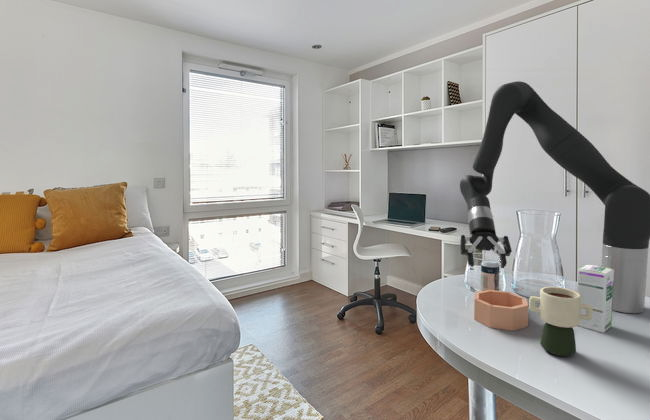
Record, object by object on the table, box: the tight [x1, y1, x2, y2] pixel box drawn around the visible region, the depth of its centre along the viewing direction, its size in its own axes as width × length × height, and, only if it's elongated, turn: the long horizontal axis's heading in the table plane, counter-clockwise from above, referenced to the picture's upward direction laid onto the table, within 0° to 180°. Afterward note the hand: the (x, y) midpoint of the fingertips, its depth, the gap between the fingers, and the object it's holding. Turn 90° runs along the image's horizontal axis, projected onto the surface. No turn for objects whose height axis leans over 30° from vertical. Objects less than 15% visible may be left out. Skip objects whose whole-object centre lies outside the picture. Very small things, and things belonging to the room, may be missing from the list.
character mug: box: [528, 286, 593, 357], centre depth 71 cm, size 11×7×13 cm, turn 57°
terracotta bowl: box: [473, 290, 529, 331], centre depth 88 cm, size 12×12×6 cm
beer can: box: [480, 259, 500, 291], centre depth 99 cm, size 5×5×12 cm
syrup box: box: [576, 264, 614, 334], centre depth 82 cm, size 6×6×14 cm
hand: (487, 266), depth 102 cm, fingers open, 8 cm apart
